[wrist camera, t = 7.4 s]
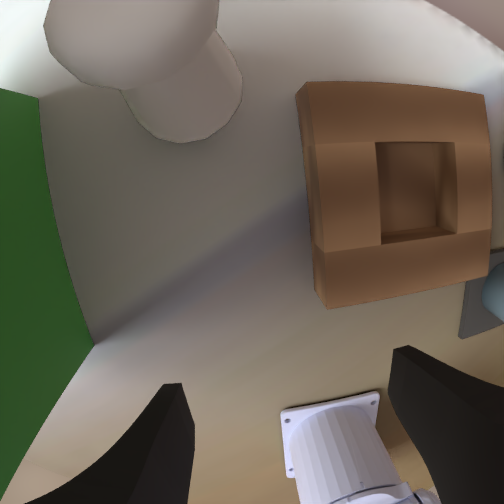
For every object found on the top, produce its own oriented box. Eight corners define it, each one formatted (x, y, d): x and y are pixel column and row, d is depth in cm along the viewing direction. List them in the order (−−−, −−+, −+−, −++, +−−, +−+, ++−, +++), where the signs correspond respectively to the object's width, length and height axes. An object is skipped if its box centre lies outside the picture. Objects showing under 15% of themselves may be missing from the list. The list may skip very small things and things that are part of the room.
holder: (463, 262, 21) (487, 275, 18) (314, 289, 20) (327, 309, 17) (457, 99, 17) (483, 94, 14) (295, 94, 17) (306, 81, 14)
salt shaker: (233, 45, 16) (238, -112, 4) (249, 135, 18) (284, 70, 5) (137, 66, 16) (18, -44, 4) (149, 154, 18) (6, 144, 5)
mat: (509, 317, 22) (513, 319, 22) (458, 336, 22) (461, 339, 22) (520, 244, 21) (525, 246, 20) (468, 255, 20) (472, 257, 20)
